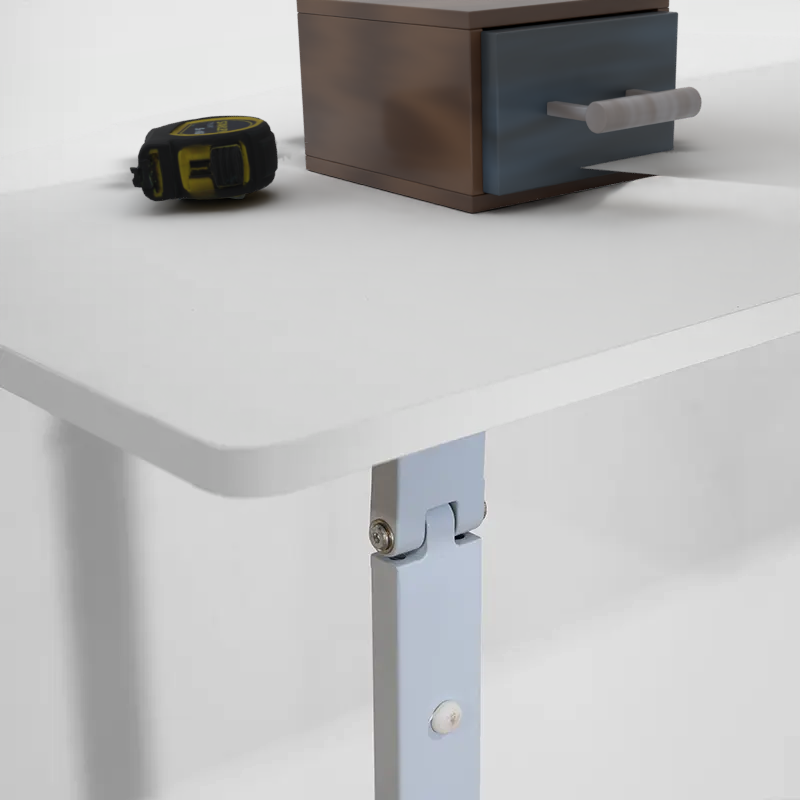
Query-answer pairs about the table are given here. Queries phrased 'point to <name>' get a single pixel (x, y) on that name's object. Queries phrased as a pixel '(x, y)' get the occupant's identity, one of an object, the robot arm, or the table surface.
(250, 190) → the tape measure
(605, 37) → the drawer
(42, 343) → the table surface
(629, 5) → the cabinet
